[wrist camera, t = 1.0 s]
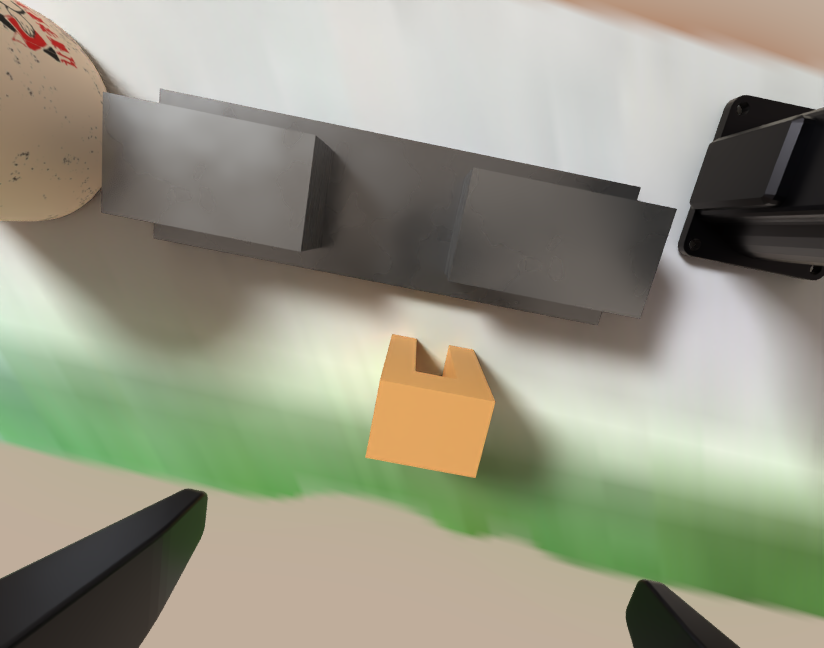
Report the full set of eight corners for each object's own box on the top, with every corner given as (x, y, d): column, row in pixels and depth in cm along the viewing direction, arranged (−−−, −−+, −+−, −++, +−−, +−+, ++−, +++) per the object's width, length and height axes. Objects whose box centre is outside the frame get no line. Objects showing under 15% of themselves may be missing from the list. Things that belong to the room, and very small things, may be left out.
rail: (628, 189, 18) (686, 179, 14) (588, 320, 19) (631, 344, 15) (174, 96, 17) (103, 58, 13) (167, 237, 19) (101, 240, 15)
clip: (473, 349, 20) (495, 401, 14) (459, 405, 20) (475, 477, 15) (392, 334, 20) (380, 380, 14) (381, 391, 20) (365, 457, 14)
